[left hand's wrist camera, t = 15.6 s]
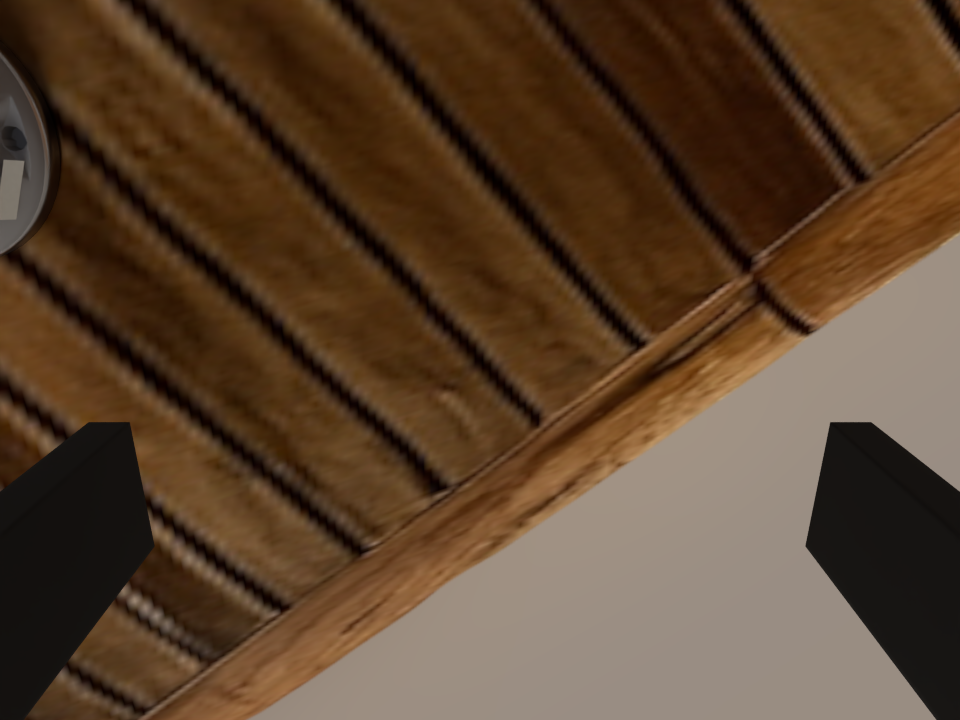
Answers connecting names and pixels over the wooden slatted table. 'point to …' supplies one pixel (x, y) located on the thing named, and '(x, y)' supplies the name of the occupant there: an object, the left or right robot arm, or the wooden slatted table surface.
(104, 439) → the left robot arm
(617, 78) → the wooden slatted table surface
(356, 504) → the wooden slatted table surface
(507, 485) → the wooden slatted table surface
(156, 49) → the wooden slatted table surface
